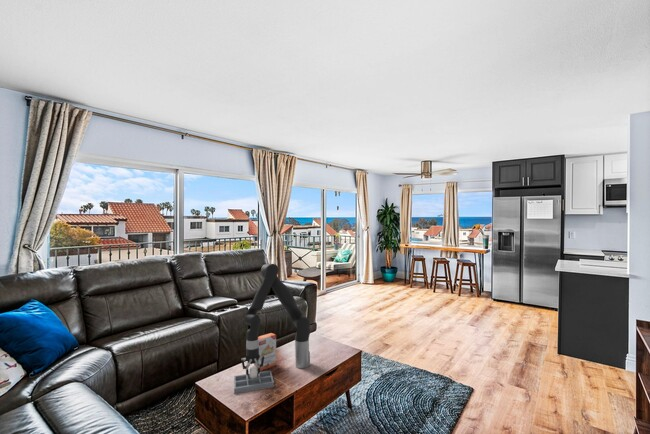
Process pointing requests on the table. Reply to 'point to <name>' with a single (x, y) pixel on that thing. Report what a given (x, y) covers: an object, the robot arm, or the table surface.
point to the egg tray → (253, 382)
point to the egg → (253, 372)
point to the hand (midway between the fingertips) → (253, 374)
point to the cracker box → (267, 351)
